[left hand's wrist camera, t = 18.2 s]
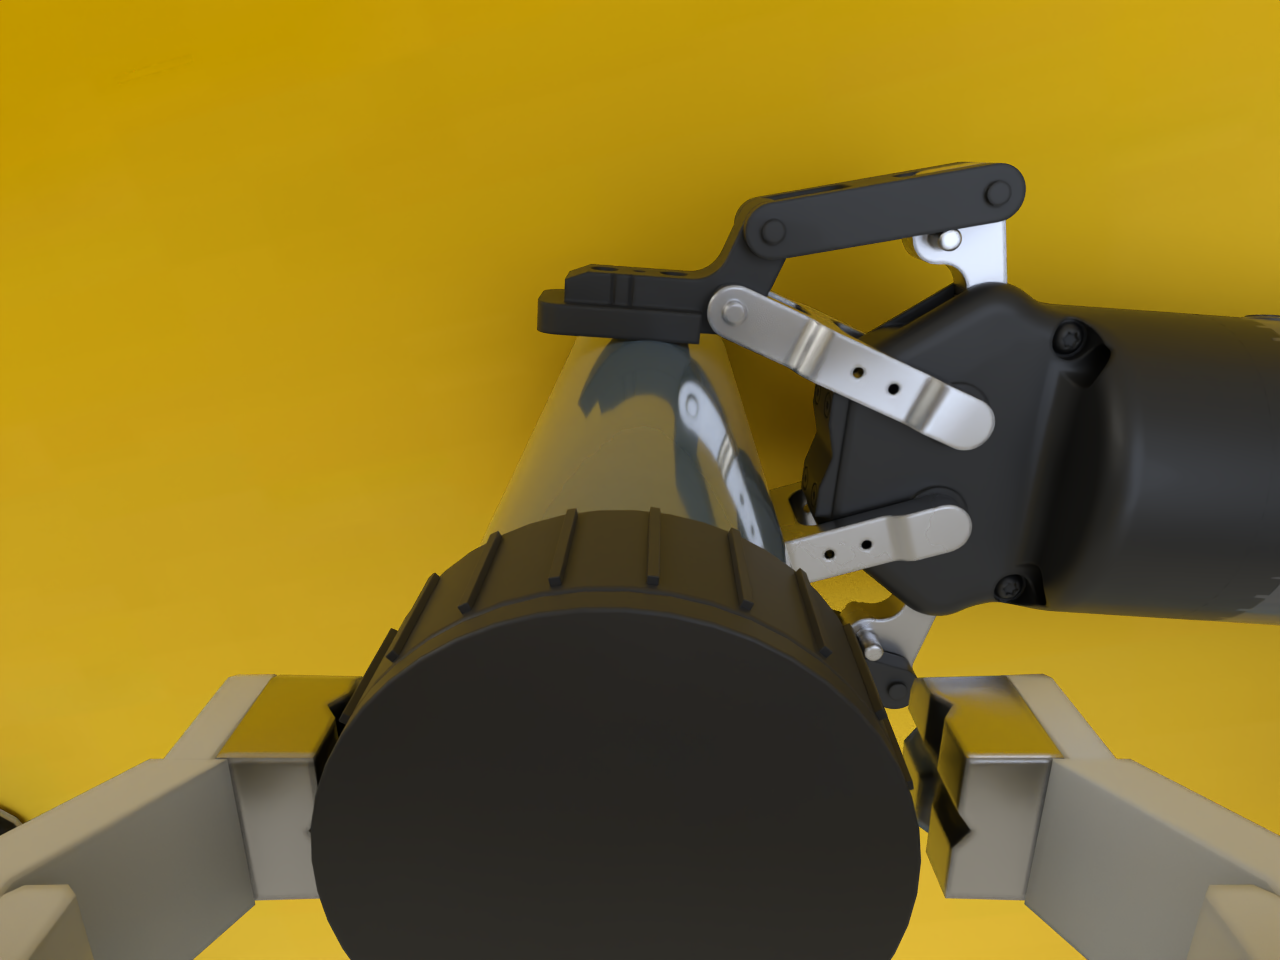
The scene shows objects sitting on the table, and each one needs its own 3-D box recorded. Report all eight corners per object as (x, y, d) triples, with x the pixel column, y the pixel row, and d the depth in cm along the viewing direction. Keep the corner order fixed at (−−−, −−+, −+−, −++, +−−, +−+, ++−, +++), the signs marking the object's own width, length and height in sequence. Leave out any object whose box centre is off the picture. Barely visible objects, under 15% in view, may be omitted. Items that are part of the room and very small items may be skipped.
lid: (273, 633, 10) (172, 760, 8) (744, 407, 9) (769, 485, 7) (530, 978, 12) (501, 1157, 10) (949, 823, 11) (1018, 986, 9)
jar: (738, 435, 28) (875, 979, 10) (585, 457, 29) (439, 1020, 10) (717, 279, 26) (839, 579, 8) (556, 305, 27) (318, 647, 8)
